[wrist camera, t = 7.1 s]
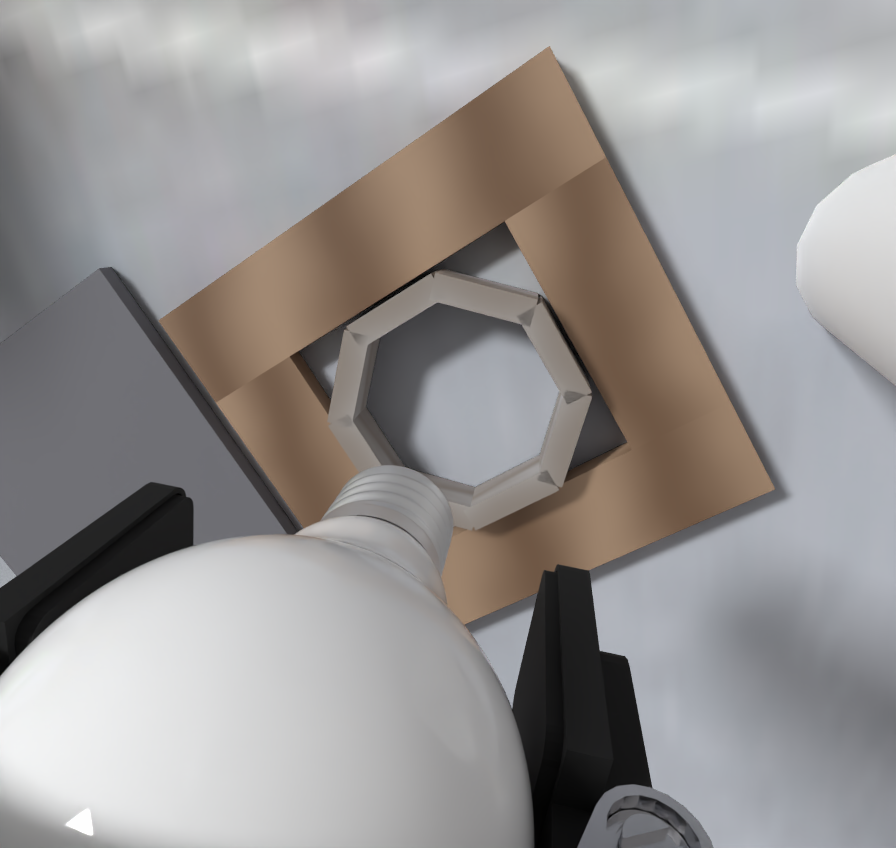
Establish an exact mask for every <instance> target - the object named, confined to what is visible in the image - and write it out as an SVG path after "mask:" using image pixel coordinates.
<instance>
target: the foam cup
mask: <svg viewBox="0 0 896 848" xmlns="http://www.w3.org/2000/svg"><path fill="white" fill-rule="evenodd" d="M796 286H797V288H798V290H799V292H800V294H801V296H802V298H803V300H804V302H805V303H806V305H807V307H808V309H809V311H810V313H811V315H812V317H813V318H814V319H816V320H817V322H818V323H819V324H820V325H822V326H823V327H824V328H825V329H827V330H828V331H829V332H830V333H831V334H833V335H834V336H835V337H836V338H838V339H839V340H840V341H841V342H842V343H844V344H845V345H846V346H847V347H849V348H850V349H851V350H852V351H853V352H855V353H856V354H857V355H858V356H860V357H861V358H862V359H863V360H864V361H866V362H867V363H868V364H869V365H871V366H872V367H873V368H874V369H875V370H877V371H878V372H879V373H880V374H882V375H883V376H884V377H885V378H886V379H888V380H889V381H890V382H891V383H893V384H894V385H895V386H896V154H895V155H893V156H890V157H888V158H886V159H883V160H881V161H879V162H877V163H874V164H872V165H870V166H867V167H865V168H863V169H860V170H859V171H858V172H855V173H852V174H851V175H850V176H849V177H848V178H847V179H846V180H845V181H843V182H842V183H841V184H840V185H839V186H838V187H837V188H836V189H834V190H833V191H832V192H831V193H830V194H829V195H828V196H827V197H825V198H824V199H823V200H822V201H821V202H820V203H819V204H817V206H816V208H815V210H814V212H813V214H812V216H811V218H810V220H809V222H808V224H807V226H806V228H805V230H804V232H803V234H802V236H801V238H800V240H799V242H798V244H797V262H796Z"/></svg>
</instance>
